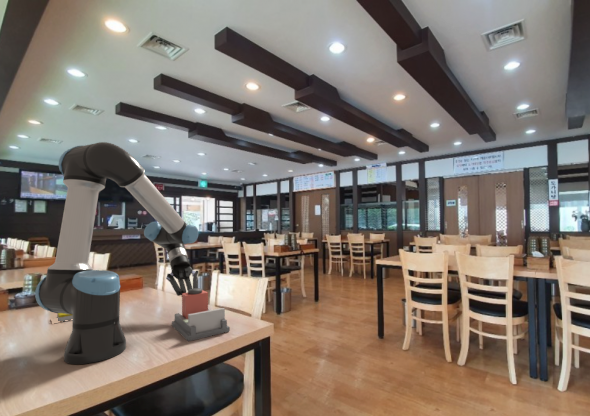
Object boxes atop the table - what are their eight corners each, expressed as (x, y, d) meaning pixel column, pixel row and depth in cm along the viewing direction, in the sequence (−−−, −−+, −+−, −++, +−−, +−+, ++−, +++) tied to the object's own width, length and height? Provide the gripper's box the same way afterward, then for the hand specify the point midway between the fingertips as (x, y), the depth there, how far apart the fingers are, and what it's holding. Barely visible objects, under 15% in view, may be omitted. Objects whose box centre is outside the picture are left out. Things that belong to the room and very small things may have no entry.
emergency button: (97, 306, 129) (51, 313, 119) (97, 317, 129) (51, 325, 119) (93, 302, 136) (50, 309, 126) (93, 312, 136) (50, 320, 126)
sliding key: (186, 324, 109) (185, 292, 110) (182, 321, 113) (182, 290, 114) (208, 319, 114) (207, 289, 115) (203, 316, 118) (203, 287, 119)
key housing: (188, 341, 97) (187, 317, 98) (171, 325, 114) (171, 304, 114) (229, 331, 106) (229, 309, 106) (208, 317, 122) (208, 298, 122)
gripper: (192, 265, 138) (205, 310, 123) (161, 268, 130) (171, 317, 116) (196, 253, 134) (210, 299, 119) (164, 256, 126) (175, 305, 112)
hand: (191, 308), depth 118 cm, fingers closed
